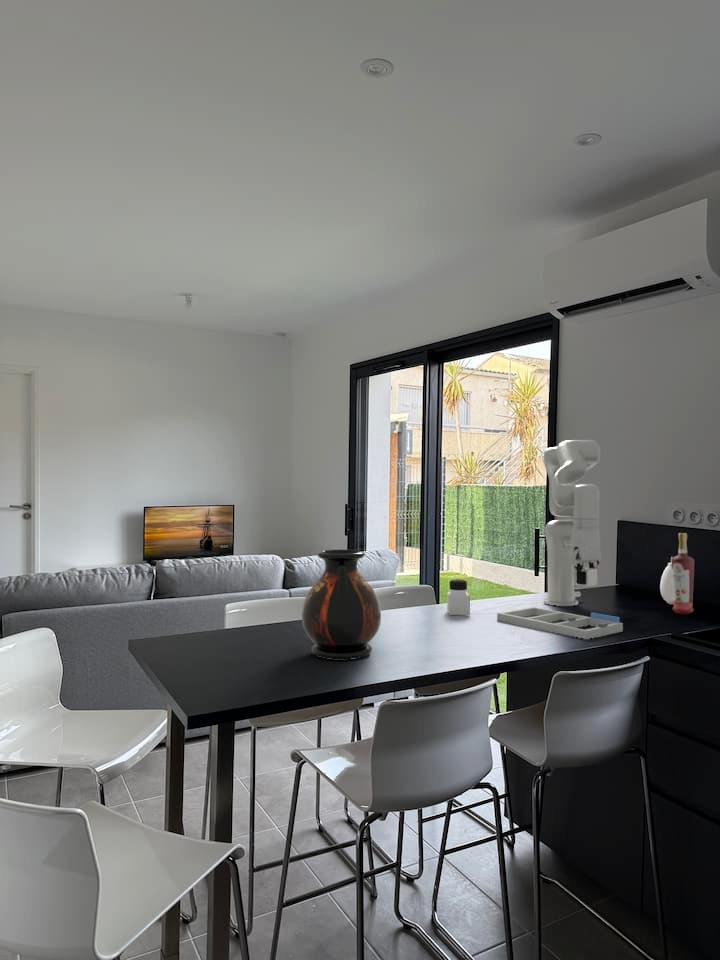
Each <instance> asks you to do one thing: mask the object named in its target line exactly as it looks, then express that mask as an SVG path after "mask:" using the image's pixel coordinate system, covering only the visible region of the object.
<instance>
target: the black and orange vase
mask: <svg viewBox="0 0 720 960" xmlns="http://www.w3.org/2000/svg"><path fill="white" fill-rule="evenodd" d="M365 554H366V553H365V552H364V551H362V550H358V549H328V550H321V551H319V552H318V553H317V557H318V558H319V559H322V560H323V561H324V567H325V568H324V571H323V573H322V575H321V576H320V577H319V578H318V580H317V581H316V582H315V583H314V584H313V586H312V587H311V588H310V589H309V591H308V592H307V595H306V597H305V600H304V603H303V605H302V613H301V623H302V626H303V630H304V631H305V633H306V634H307V636H308V638H309V639H310V641H312V643H314V644H313V645H312V647H311V653H312V654H313V655H314V654H315V655H318V656H321V657H325V658H332V659H351V658H359V657H363V658H365V657H364V656H366V657H367V656H369V655H370V654H371V653H372V649H373V648H372V645H371V644H370V642H371V641H372V640H373V639H374V638H375V636H376V635H377V633H378V631H379V629H380V626H381V621H382V619H381V618H382V616H381V615H382V612H381V607H380V606H381V605H380V602H379V600H378V597H377V594H376V592H375V591H374V589H373V587H372V586H371V585H370V584H369V583H368V582H367V581H366V579H365V578H364V576H362V575H361V573H360V572H359V570H358V563H359V560H360V559H362V558H364V557H365ZM315 655H314V656H315Z"/></svg>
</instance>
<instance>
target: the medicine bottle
mask: <svg viewBox="0 0 720 960" xmlns="http://www.w3.org/2000/svg"><path fill="white" fill-rule="evenodd" d="M470 601H471V596H470V594H469V593H468V582H467V580H465V579H461V578H458V579H457V578H453V579H451V580H449V591H447V593H446V604H447V605H446V610H447V614H448V613H449V614H448V615H449V616H450V615H469V616H470V615H471V612H470V611H471V607H470V606H471V605H470V604H471V602H470Z"/></svg>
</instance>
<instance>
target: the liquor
mask: <svg viewBox="0 0 720 960" xmlns="http://www.w3.org/2000/svg"><path fill="white" fill-rule="evenodd" d="M687 540H688V534H687V533H686V532H678V541H679V542H678V543H679V544H678V553H677V555H676V556H672V559H671V558H670V562H671V561H672V579H673V599H674V604H673V607H672V610H673V611H674V613H675V614H677V615H685V616H686V615H690V614H692V613H693V612H694V611H695V609H694V608H693V599H694V597H693V596H694V595H693V593H694V575H695V559H694V558H693V557H692V556H689V555H688V546H687Z"/></svg>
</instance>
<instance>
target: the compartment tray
mask: <svg viewBox="0 0 720 960" xmlns="http://www.w3.org/2000/svg"><path fill="white" fill-rule="evenodd" d="M531 615H532V616H531ZM537 615H538V616H537ZM496 616H497V617H496V621H498V622H501V621H502V623H506V622H507V624H512V625H516V626H521V627H527V628H529V629H534V628H535V629H534V630H540V631H543V632H548V631H549V633H553V632H554V634H558V633H559V634H558V635H562V634H563V635H564V636H567V637H572V636H573V637H572V638H576V637H578V638H577V639H581V638H583V639H582V640H586V639H587V640H590V638H592V639H594V638H595V637H596V638H599V637H604V636H608V635H611V634H612V635H614V634H617V633H621V632H624V631H623V629H624V626H623V625H624V623H623V622H620V617H619V616H614V615H608V614H603V613H602V614H601V613H596V612H590V616H585V615H581V614H576V613H575V614H574V613H570V612H569V613H568V612H562V611H558V610H553V609H548V608H547V609H546V608H541V607H536V606H530V607H525V608H520V609H519V608H518V609H513V610H508V611H501V612H497V614H496ZM525 616H527V617H525ZM558 620H559V621H562V620H564V621H562V622H558ZM552 621H554V622H557V623H553V622H552ZM548 622H549V623H548ZM588 625H590V626H589V627H592V628H587V629H583V628H584V627H588ZM583 626H584V627H583ZM593 626H595V627H593ZM578 627H580V628H578Z"/></svg>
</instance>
